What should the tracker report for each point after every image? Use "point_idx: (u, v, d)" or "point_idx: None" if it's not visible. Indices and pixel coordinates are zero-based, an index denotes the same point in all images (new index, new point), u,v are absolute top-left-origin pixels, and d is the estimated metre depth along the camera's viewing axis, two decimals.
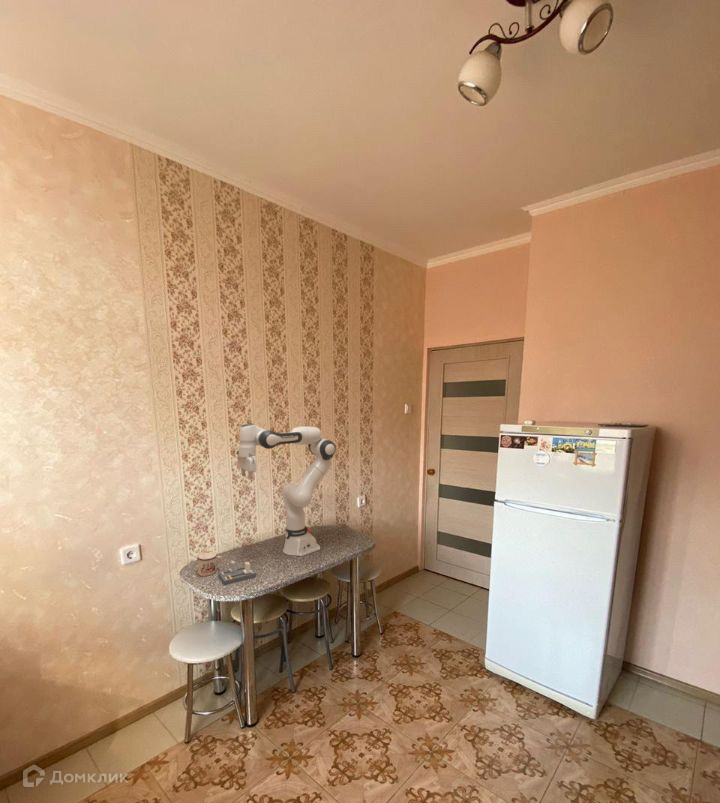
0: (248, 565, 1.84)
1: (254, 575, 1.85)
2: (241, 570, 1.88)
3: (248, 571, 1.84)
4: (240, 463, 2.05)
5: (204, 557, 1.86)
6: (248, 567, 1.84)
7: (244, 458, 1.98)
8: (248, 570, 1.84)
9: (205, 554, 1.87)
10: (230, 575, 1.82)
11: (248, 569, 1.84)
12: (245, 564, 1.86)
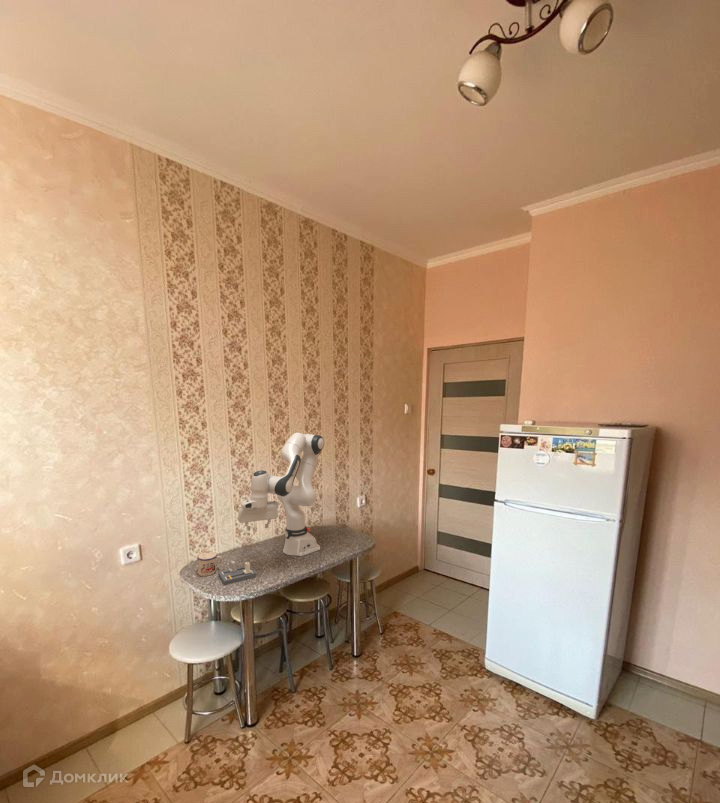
0: (248, 565, 1.84)
1: (254, 575, 1.85)
2: (241, 570, 1.88)
3: (248, 571, 1.84)
4: (248, 516, 1.87)
5: (204, 557, 1.86)
6: (248, 567, 1.84)
7: (263, 508, 1.90)
8: (248, 570, 1.84)
9: (205, 554, 1.87)
10: (230, 575, 1.82)
11: (248, 569, 1.84)
12: (245, 564, 1.86)
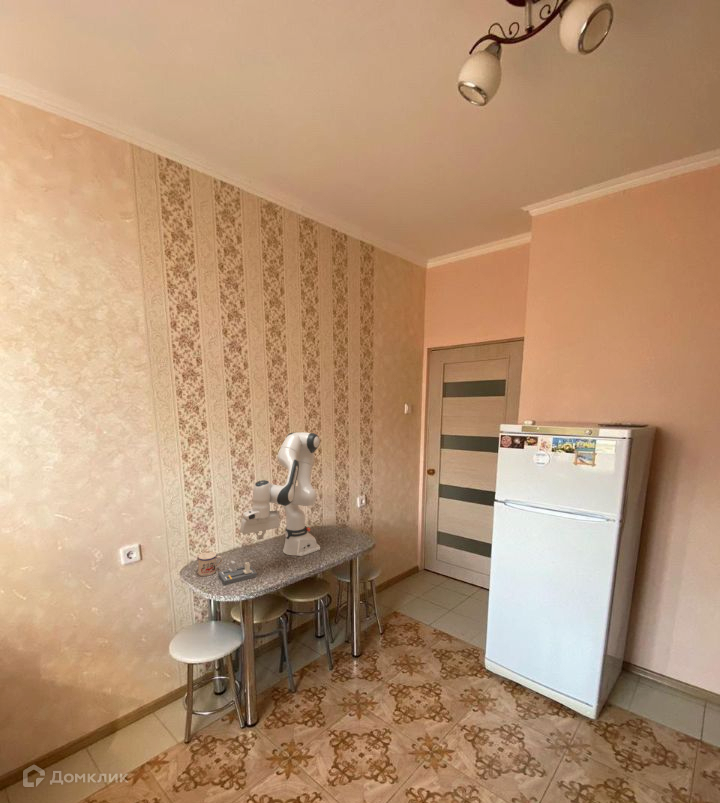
0: (248, 565, 1.84)
1: (254, 575, 1.85)
2: (241, 570, 1.88)
3: (248, 571, 1.84)
4: (251, 527, 1.85)
5: (204, 557, 1.86)
6: (248, 567, 1.84)
7: (266, 518, 1.89)
8: (248, 570, 1.84)
9: (205, 554, 1.87)
10: (230, 575, 1.82)
11: (248, 569, 1.84)
12: (245, 564, 1.86)
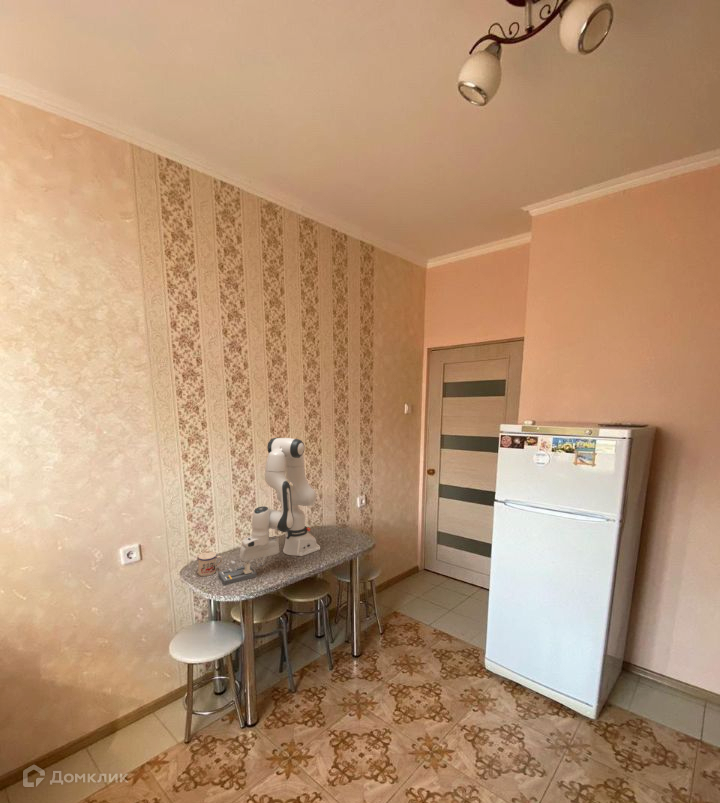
0: (248, 565, 1.84)
1: (254, 575, 1.85)
2: (241, 570, 1.88)
3: (248, 571, 1.84)
4: (250, 555, 1.85)
5: (204, 557, 1.86)
6: (248, 567, 1.84)
7: (265, 544, 1.89)
8: (248, 570, 1.84)
9: (205, 554, 1.87)
10: (230, 575, 1.82)
11: (248, 569, 1.84)
12: (245, 564, 1.86)
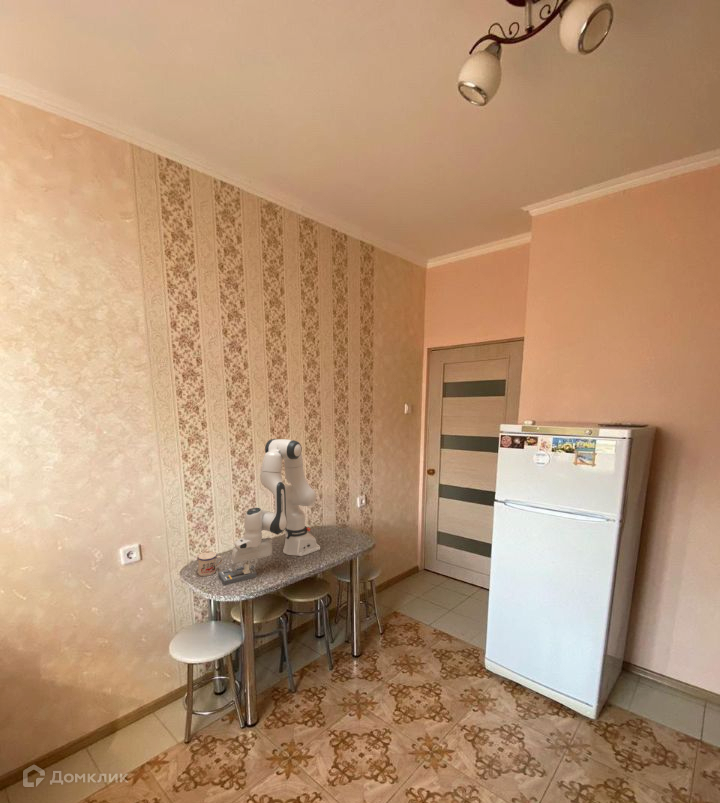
0: (247, 565, 1.84)
1: (254, 575, 1.85)
2: (241, 570, 1.88)
3: (247, 571, 1.84)
4: (243, 557, 1.82)
5: (204, 557, 1.86)
6: (247, 567, 1.84)
7: (258, 546, 1.86)
8: (247, 570, 1.84)
9: (205, 554, 1.87)
10: (230, 575, 1.82)
11: (247, 569, 1.84)
12: (244, 564, 1.85)
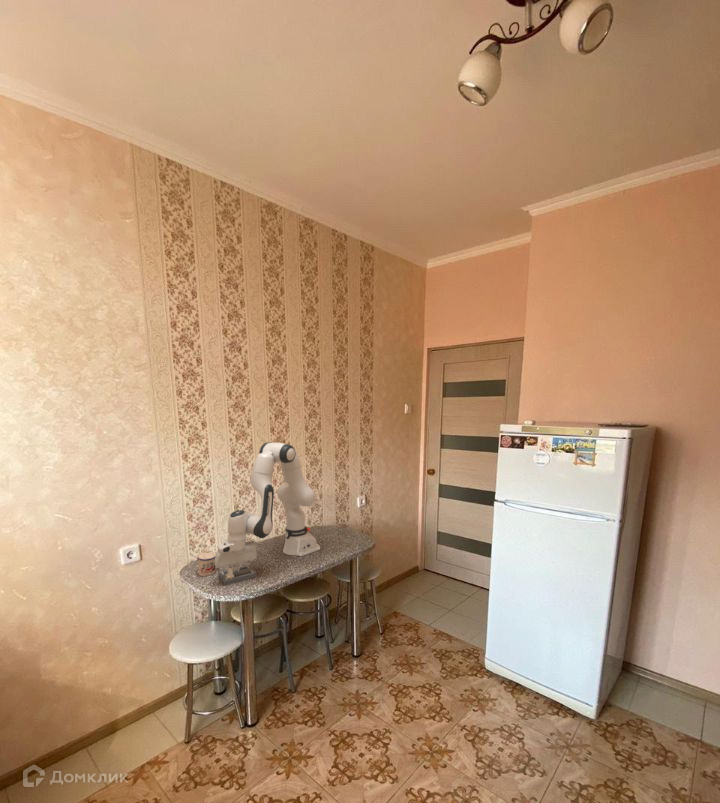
0: (231, 569, 1.79)
1: (254, 575, 1.85)
2: (241, 570, 1.88)
3: (231, 575, 1.79)
4: (226, 560, 1.78)
5: (204, 557, 1.86)
6: (231, 571, 1.79)
7: (242, 549, 1.82)
8: (231, 574, 1.79)
9: (205, 554, 1.87)
10: None
11: (231, 573, 1.79)
12: (228, 568, 1.81)
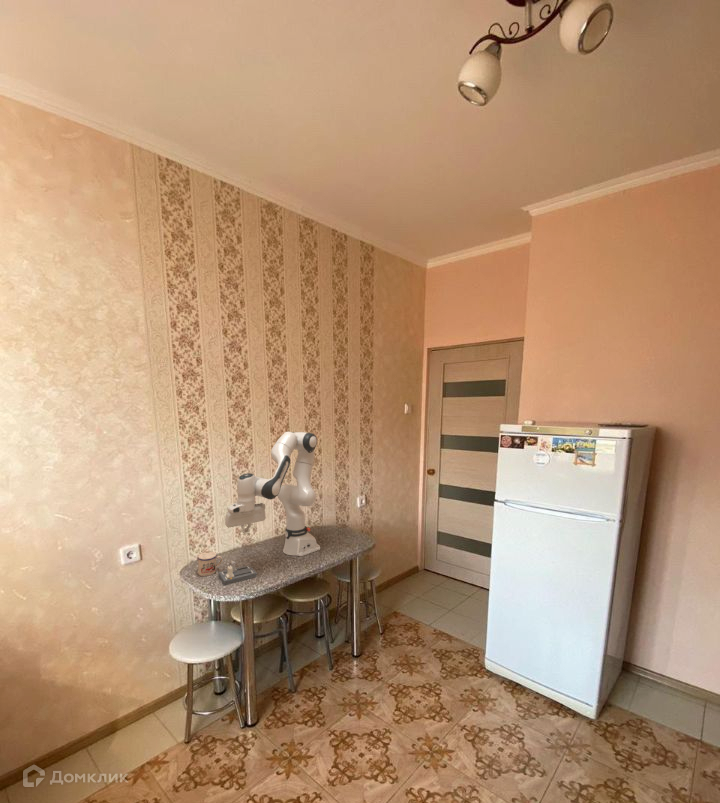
0: (231, 569, 1.79)
1: (254, 575, 1.85)
2: (241, 570, 1.88)
3: (231, 575, 1.79)
4: (236, 521, 1.83)
5: (204, 557, 1.86)
6: (231, 571, 1.79)
7: (251, 511, 1.87)
8: (231, 574, 1.79)
9: (205, 554, 1.87)
10: None
11: (231, 573, 1.79)
12: (228, 568, 1.81)
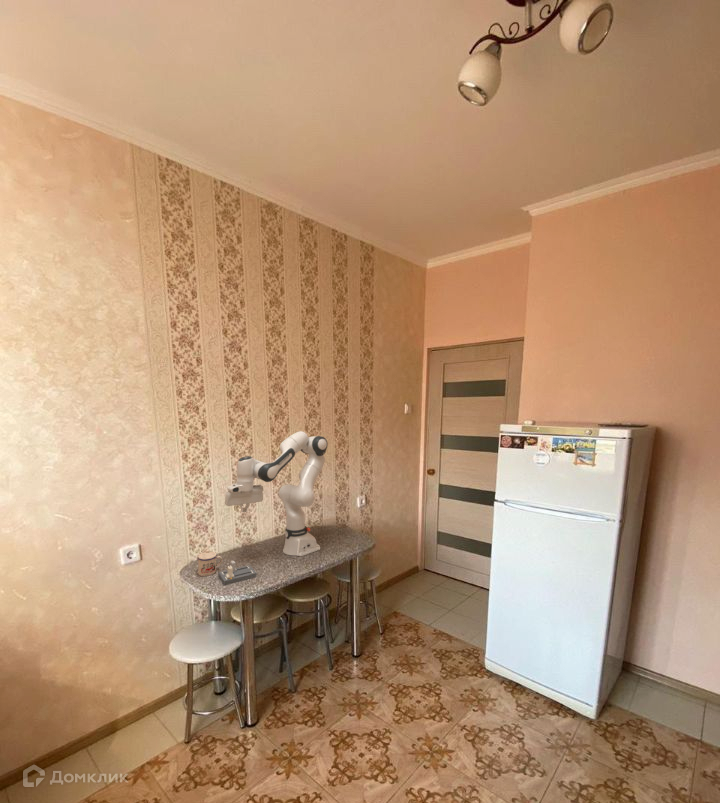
0: (231, 569, 1.79)
1: (254, 575, 1.85)
2: (241, 570, 1.88)
3: (231, 575, 1.79)
4: (235, 500, 1.95)
5: (204, 557, 1.86)
6: (231, 571, 1.79)
7: (250, 491, 1.99)
8: (231, 574, 1.79)
9: (205, 554, 1.87)
10: None
11: (231, 573, 1.79)
12: (228, 568, 1.81)
